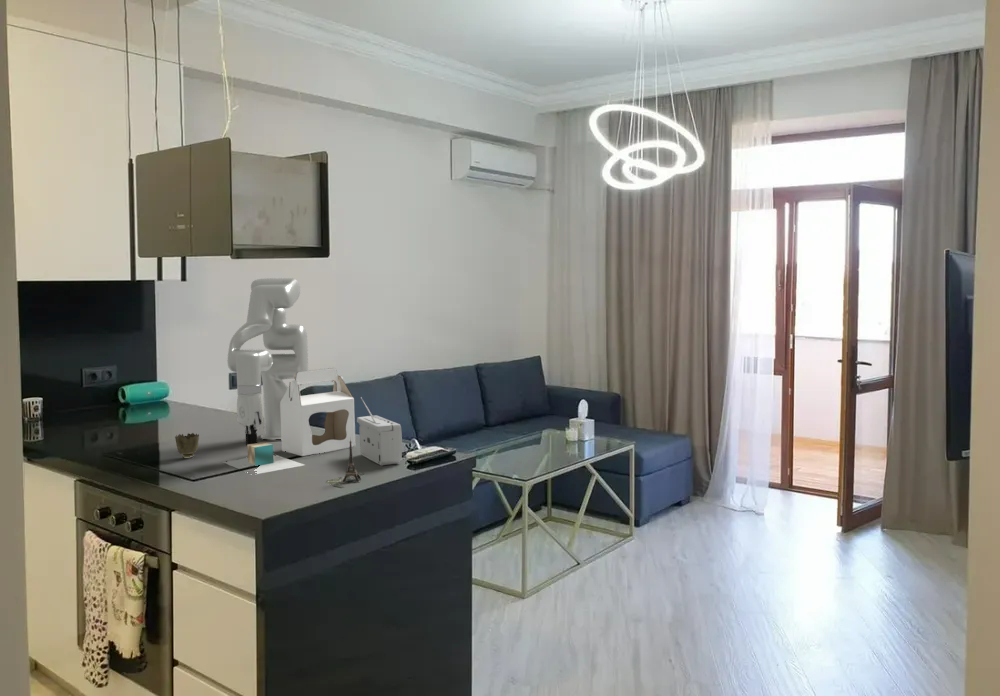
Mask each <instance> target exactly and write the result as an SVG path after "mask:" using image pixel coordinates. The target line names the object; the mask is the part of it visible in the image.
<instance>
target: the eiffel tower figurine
mask: <svg viewBox="0 0 1000 696" xmlns="http://www.w3.org/2000/svg"><path fill="white" fill-rule="evenodd" d="M351 443H352V442H351V438H350V448H349V457H348V458H349V459H348V466H347V469H346V471H345V476H341V477H337V478H333V479H329V480H326V482H327V483H326V484H327V485H330V484H331V485H333V486H332V487H337V488H344V486H343V485H341V484H357V483H361V481H362V479H363V476H364V475H365V473H362V472H358V470H357V469H356V467H355V462H354V458H353V447H352V446H351ZM351 468H352V469H351ZM331 485H330V486H331Z"/></svg>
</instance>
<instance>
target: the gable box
mask: <svg viewBox="0 0 1000 696" xmlns="http://www.w3.org/2000/svg"><path fill="white" fill-rule="evenodd" d="M294 378H295V379H293V380H292V381H289V385H288V386H287V387H288V389H287V391H286V393H285V394H284V396H283V398H282V400H281V402H280V413H281V440H280V441H281V451H282V452H285V451H286V452H285V453H288V454H294V455H297V456H301V457H305V456H309V455H315V454H316V455H320V454H324V452H325V453H329V452H334V451H340V450H345V449H350V438H351V442H352V443H351V446H352V448H355V447H356V423H355V422H356V421H355V420H356V419H355V397H354V395H352V392H351V391H350V390H349V388H348V386H347V384H346V383H345V381H344V377H343V375H338V371H337V368H335V367H329V368H320V369H310V370H308V371H301V372H297V373H296V375H294ZM326 382H333V389H332V390H333V391H329V392H319V393H314V394H313V393H312V394H307V395H301V394H300V387H299V386H302V385H303V386H304V385H309V384H319V383H326ZM317 413H326V415H325V417H324V422H323V423H324V433H323V434H322V435H317V434H313V433H312V429H311V425H310V422H309V420H310V417H311V416H312V415H314V414H317ZM319 453H320V454H319Z"/></svg>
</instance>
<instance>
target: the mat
mask: <svg viewBox="0 0 1000 696" xmlns="http://www.w3.org/2000/svg"><path fill="white" fill-rule="evenodd" d="M275 455H276V456H273V457H274V458H273V459H274V463H271V464H265V465H260V466H259V467H258V468H257V469H255V470H254V471H257V472H255V473H257V474H256V475H260V474H265V473H266V474H267V473H270V472H271V473H272V472H275V471H276V472H277V471H282V470H287V469H292V468H297V467H303V466H305V464H304V463H302V462H301V463H300V462H298V461H295V460H291V459H289V458H286V457H284V456H280V455H277V454H275ZM246 474H248V472H247V473H246ZM250 476H253V475H252V474H250Z"/></svg>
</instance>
